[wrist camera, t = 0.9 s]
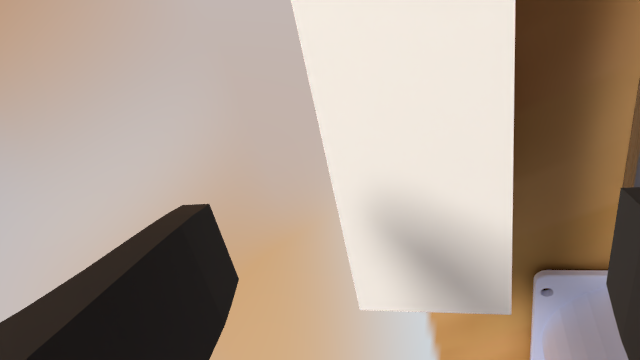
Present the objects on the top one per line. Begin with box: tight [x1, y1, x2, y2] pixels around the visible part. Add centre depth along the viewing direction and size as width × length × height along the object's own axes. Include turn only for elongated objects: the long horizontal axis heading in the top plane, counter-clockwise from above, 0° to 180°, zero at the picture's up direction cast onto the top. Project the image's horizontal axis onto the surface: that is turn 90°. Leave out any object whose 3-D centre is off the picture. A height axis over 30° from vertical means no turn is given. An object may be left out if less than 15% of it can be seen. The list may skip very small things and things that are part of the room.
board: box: [291, 0, 515, 315], centre depth 13 cm, size 14×5×2 cm, turn 12°
